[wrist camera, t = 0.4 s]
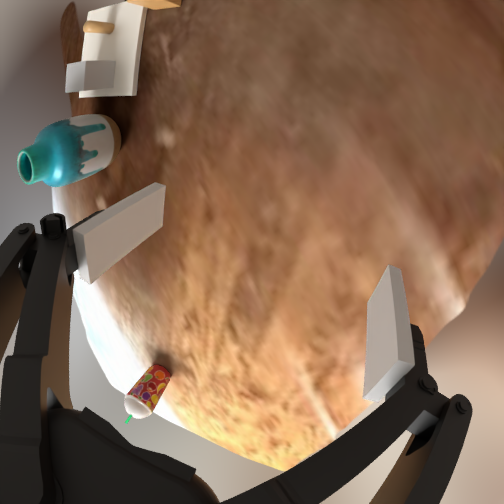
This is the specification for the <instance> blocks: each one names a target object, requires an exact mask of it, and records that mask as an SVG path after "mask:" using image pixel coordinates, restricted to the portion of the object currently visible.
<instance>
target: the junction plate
mask: <svg viewBox="0 0 504 504" xmlns="http://www.w3.org/2000/svg"><path fill="white" fill-rule="evenodd" d="M147 9H148V8H147V7H143V6H139V5H136V4H132V3H128V2H127V1H125V2H121V3H117V4H114V5H110V6H107V7H103V8H100V9H96V10H93V11H90V12H89V13H88V18H87V22H86V23H85V24H84V27H83V31H84V32H85V37H84V44H83V53H82V62H77V63H72V64H67V73H66V91H65V92H66V93H68V92H77V91H79V98H81V97H99V96H135V95H137V84H138V73H139V64H140V55H141V47H142V40H143V33H144V26H145V20H146V14H147Z"/></svg>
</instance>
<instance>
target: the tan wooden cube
mask: <svg viewBox="0 0 504 504" xmlns="http://www.w3.org/2000/svg"><path fill="white" fill-rule="evenodd" d="M127 2H128V3H132V4H136V5H139V6H143V7H147V8H150V9H154V10H156V9H163V8H171V7H179V6H181V2H182V0H127Z"/></svg>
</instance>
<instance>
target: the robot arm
mask: <svg viewBox="0 0 504 504" xmlns="http://www.w3.org/2000/svg"><path fill="white" fill-rule="evenodd" d="M165 189H166V186H165V185H162V184H159V183H156V182H155V183H153V184H151V185H149V186H147V187H145V188H144V189H142V190H140V191H138V192H136V193H134V194H132V195H131V196H129V197H127V198H125V199H123V200H122V201H120V202H118V203H116V204H114V205H113V206H111V207H109V208H107V209H106V210H105V209H104V210H101V211H97V212H95V213H93V214H91V215H90V216H89V217H86V218H85V219H83V221H82V220H81V221H80V222H78V223H76V224H75V225H73V226H72V227H70V228H68V229H67V230H66V221H65V216H64V215H62V214H60V213H53V214H49V215H46V216H44V217H43V218H42V219H41V220H40V225H41V230H42V234H37V233H35V227H34V225H33V224H30V223H23V224H20V225H19V226H17V227H16V228H15V229H13V231H12V232H11V233H10V234H9V235H8V237H7V238H6V239H5V240H4V242H3V243H2V244H1V246H0V363H1V360H2V358H3V355H4V353H5V350H6V348H7V345H8V342H9V340H10V338H11V336H12V333H13V331H14V329H15V327H16V324H17V322H18V320H19V324H18V329H17V335H16V341H15V347H14V353H13V355H12V356H7V357H6V358H5V362H4V368H3V378H2V388H1V401H0V504H319V503H321V502H322V501H323V500H325V499H326V498H328V497H329V496H331V495H332V494H333V493H335V492H336V491H337V490H339V489H340V488H341V487H343V486H344V485H345V484H346V483H348V482H349V481H350V480H352V479H353V478H354V477H355V476H356V475H358V474H359V473H360V472H361V471H363V470H364V469H365V468H366V467H367V466H368V465H370V463H372V462H373V461H374V460H375V459H376V458H377V457H378V456H380V455H381V454H382V453H383V452H384V451H385V450H386V449H387V448H388V447H389V446H390V445H391V444H392V443H393V442H394V441H395V440H396V439H397V438H398V437H399V436H400V435H401V434H402V433H403V432H404V431H405V430H408V431H409V432H411V433H412V435H411V437H410V439H409V440H408V442H407V444H406V446H405V448H404V450H403V451H402V453H401V455H400V457H399V458H398V460H397V462H396V464H395V465H394V467H393V469H392V470H391V472H390V473H389V475H388V477H387V478H386V480H385V481H384V483H383V484H382V486H381V487H380V489H379V490H378V492H377V493H376V495H375V496H374V498H373V499H372V501H371V502H370V503H369V504H439V503H440V501H441V499H442V497H443V495H444V492H445V490H446V488H447V486H448V483H449V481H450V479H451V476H452V474H453V471H454V468H455V466H456V463H457V461H458V458H459V455H460V452H461V449H462V447H463V443H464V440H465V437H466V434H467V431H468V427H469V424H470V420H471V417H472V406H471V403H470V402H469V400H468V399H467V398H466V397H465V396H463V395H461V394H456V395H454V396H453V397H452V398H451V399H449V398H447V397H446V396H444V395H442V394H441V393H439V392H438V386H437V383H436V381H435V380H434V378H433V377H432V376H430V375H429V374H428V368H427V360H426V353H425V346H424V340H423V334H422V333H421V331H420V329H419V327H418V326H416V325H413V324H410V319H409V312H408V306H407V300H406V294H405V289H404V283H403V278H402V273H401V269H399V268H396V267H394V266H391V265H389V264H388V266H387V268H386V270H385V272H384V274H383V276H382V277H381V279H380V281H379V283H378V285H377V287H376V288H375V290H374V292H373V294H372V295H371V297H370V299H369V300H368V302H367V342H366V362H365V377H364V390H363V399H366V400H370V401H374V402H377V403H378V402H379V401H380V400H381V399H382V398H383V397H384V396H385V395H386V396H385V402H384V403H383V404H382V405H380V406H379V407H378V408H377V409H376V410H374V411H373V412H372V413H371V414H370V415H368V416H367V417H366V418H364V419H363V420H362V421H361V422H359V423H358V424H357V425H355V426H354V427H353V428H352V429H350V430H349V431H347V432H346V433H345V434H343V435H342V436H340V437H339V438H338V439H336V440H335V441H333V442H332V443H330V444H329V445H328V446H326V447H325V448H323V449H322V450H320V451H319V452H317V453H315V454H314V455H312V456H311V457H309V458H308V459H306V460H304V461H303V462H301V463H299V464H298V465H296V466H294V467H293V468H291V469H289V470H288V471H286V472H284V473H282V474H280V475H279V476H277V477H274V478H272V479H270V480H268V481H266V482H264V483H262V484H260V485H258V486H256V487H254V488H252V489H250V490H248V491H246V492H244V493H241V494H239V495H237V496H235V497H233V498H231V499H228V500H226V501H223V502H221V503H220V502H219V500H218V498H217V496H216V495H215V493H214V492H213V490H212V489H211V488H210V487H209V486H208V484H207V483H206V482H204V481H203V480H202V479H201V478H200V477H198V476H197V475H196V474H195V472H196V469H195V468H193V467H191V466H189V465H186V464H184V463H182V462H180V461H178V460H176V459H173V458H171V457H169V456H167V455H165V454H161V453H156V452H152V451H149V450H146V449H142V448H139V447H135V446H133V445H131V444H130V443H129V442H128V441H127V440H126V439H125V438H124V437H123V436H122V435H121V434H120V433H119V432H118V431H117V430H116V429H115V428H114V427H113V426H112V425H111V424H110V423H109V422H107V421H106V420H104V419H103V418H101V417H100V416H98V415H97V414H95V413H94V412H92V411H91V410H90V409H88V408H87V407H85V408H84V409H83V411H78V410H74V409H73V406H72V402H71V399H70V392H69V335H70V318H71V305H72V294H73V285H74V274H73V272H75V271H76V270H77V269H78V270H79V276H80V279H82V280H84V281H85V282H87V283H89V284H92V283H93V282H94V281H95V280H96V279H98V278H99V277H100V276H101V275H102V274H103V273H105V272H106V271H107V270H108V269H109V268H111V267H112V266H113V265H114V264H115V263H117V262H118V261H119V260H120V259H122V258H123V257H124V256H125V255H127V254H128V253H129V252H130V251H131V250H133V249H134V248H135V247H136V246H138V245H139V244H140V243H142V242H143V241H144V240H145V239H147V238H148V237H149V236H151V235H152V234H153V233H154V232H156V231H157V230H158V229H160V228H161V227H162V226H163V212H164V200H165ZM19 262H20V267H19ZM18 267H19V268H18ZM19 318H20V319H19Z"/></svg>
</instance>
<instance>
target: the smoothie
mask: <svg viewBox="0 0 504 504" xmlns="http://www.w3.org/2000/svg"><path fill="white" fill-rule="evenodd" d="M169 381H170V373H169V372H168V371H167V370H166V369H165V368H164V367H162V366H160V365H157V364H156V365H153V366H151V367H149V369H148V370H147V371H146V372H145V373H144V375H143V376H142V377H141V378H140V379H139V380H138V382H137V383H136V384H135V385H134V386H133V388H132V389H131V390H130V391H129V392H128V394H127V395H126V396H125V402H124V406H125V409H126V411H127V413H128V414H129V415H130V416H129V417H128V419H127V420H126V421H125V423H128V421H129V420H130V418H131V417H134V418H138V419H141V418H145V417H147V416H149V415H151V413H152V412H153V410H154V408H155V406H156V404H157V403H158V401H159V399H160V397H161V395H162V394H163V392H164V390H165V388H166V386H167V384H168V383H169Z"/></svg>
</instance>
